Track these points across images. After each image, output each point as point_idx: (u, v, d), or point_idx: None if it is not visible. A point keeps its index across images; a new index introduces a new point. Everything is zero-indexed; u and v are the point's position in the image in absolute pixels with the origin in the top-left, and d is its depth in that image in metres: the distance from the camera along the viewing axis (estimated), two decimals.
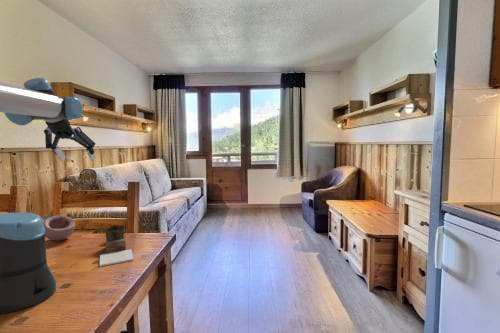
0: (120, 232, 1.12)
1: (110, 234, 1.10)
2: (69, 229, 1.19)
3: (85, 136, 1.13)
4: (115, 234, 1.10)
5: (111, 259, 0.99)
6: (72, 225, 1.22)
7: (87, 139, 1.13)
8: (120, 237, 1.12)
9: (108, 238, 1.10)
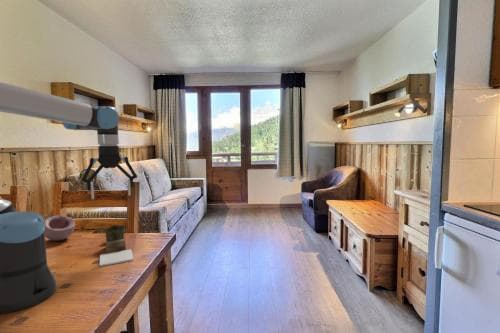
0: (120, 232, 1.12)
1: (110, 234, 1.10)
2: (69, 229, 1.19)
3: None
4: (115, 234, 1.10)
5: (111, 259, 0.99)
6: (72, 225, 1.22)
7: (132, 169, 1.15)
8: (120, 237, 1.12)
9: (108, 238, 1.10)
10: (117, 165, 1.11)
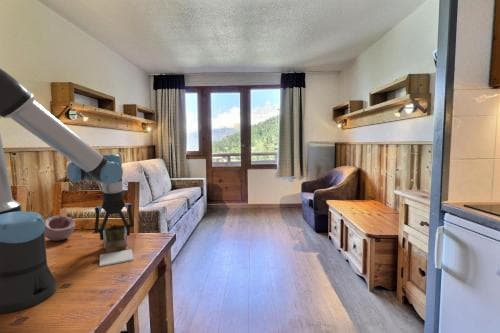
0: (120, 232, 1.12)
1: (110, 234, 1.10)
2: (69, 229, 1.19)
3: (131, 214, 1.16)
4: (115, 234, 1.10)
5: (111, 259, 0.99)
6: (72, 225, 1.22)
7: None
8: (120, 237, 1.12)
9: (108, 238, 1.10)
10: (119, 212, 1.12)
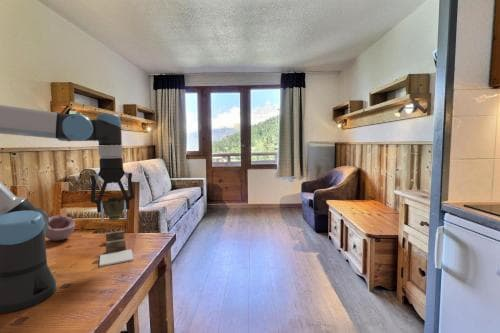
0: (119, 204, 0.98)
1: (108, 206, 0.96)
2: (69, 229, 1.19)
3: None
4: (113, 205, 0.96)
5: (111, 259, 0.99)
6: (72, 225, 1.22)
7: (132, 188, 1.02)
8: (119, 210, 0.98)
9: (106, 210, 0.97)
10: (118, 181, 0.98)
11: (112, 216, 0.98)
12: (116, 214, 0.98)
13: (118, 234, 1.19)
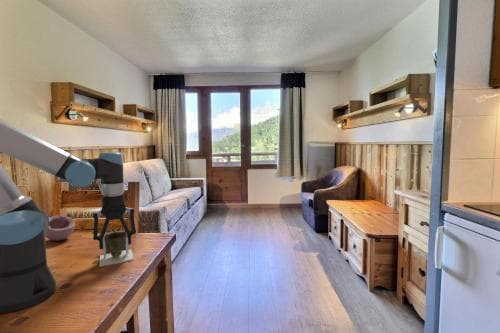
0: (122, 240, 0.99)
1: (110, 243, 0.97)
2: (69, 229, 1.19)
3: None
4: (115, 242, 0.98)
5: (111, 259, 0.99)
6: (72, 225, 1.22)
7: None
8: (122, 246, 0.99)
9: (108, 247, 0.98)
10: (120, 217, 0.99)
11: (114, 252, 0.99)
12: (118, 250, 0.99)
13: None
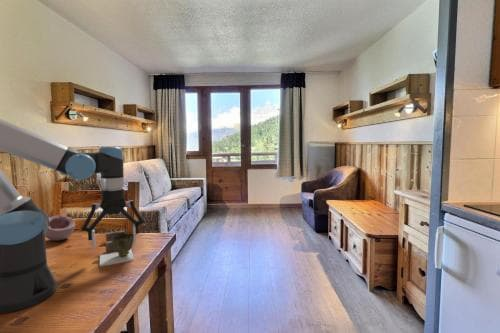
0: (129, 240, 1.00)
1: (118, 243, 0.98)
2: (69, 229, 1.19)
3: None
4: (123, 242, 0.99)
5: (111, 259, 0.99)
6: (72, 225, 1.22)
7: (138, 213, 1.04)
8: (129, 246, 1.01)
9: (115, 247, 0.99)
10: (122, 211, 0.99)
11: (121, 252, 1.00)
12: (125, 250, 1.00)
13: None
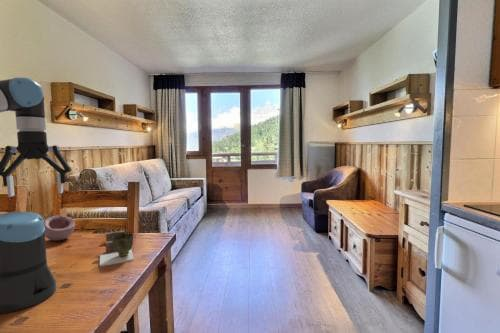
0: (129, 240, 1.00)
1: (118, 243, 0.98)
2: (69, 229, 1.19)
3: (62, 157, 0.93)
4: (123, 242, 0.99)
5: (111, 259, 0.99)
6: (72, 225, 1.22)
7: (64, 161, 0.93)
8: (129, 246, 1.01)
9: (115, 247, 0.99)
10: (42, 155, 0.89)
11: (121, 252, 1.00)
12: (125, 250, 1.00)
13: None
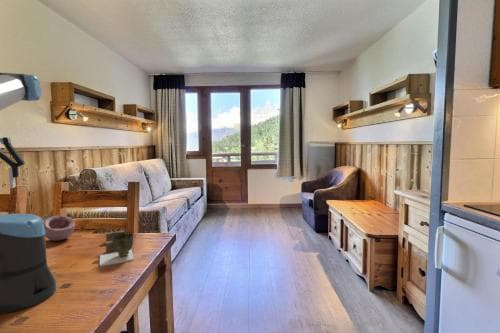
0: (129, 240, 1.00)
1: (118, 243, 0.98)
2: (69, 229, 1.19)
3: (14, 150, 0.89)
4: (123, 242, 0.99)
5: (111, 259, 0.99)
6: (72, 225, 1.22)
7: (16, 154, 0.88)
8: (129, 246, 1.01)
9: (115, 247, 0.99)
10: None
11: (121, 252, 1.00)
12: (125, 250, 1.00)
13: None
